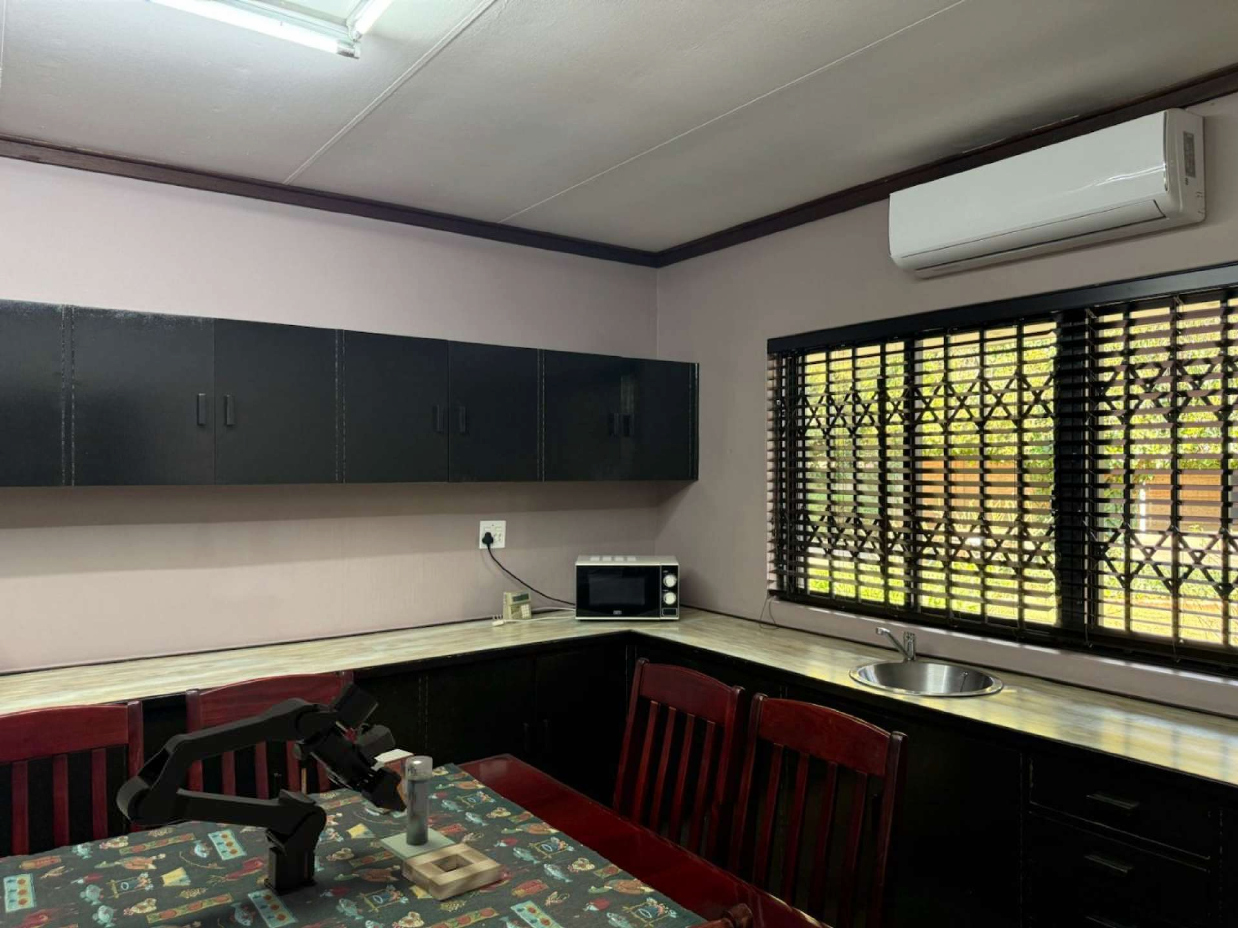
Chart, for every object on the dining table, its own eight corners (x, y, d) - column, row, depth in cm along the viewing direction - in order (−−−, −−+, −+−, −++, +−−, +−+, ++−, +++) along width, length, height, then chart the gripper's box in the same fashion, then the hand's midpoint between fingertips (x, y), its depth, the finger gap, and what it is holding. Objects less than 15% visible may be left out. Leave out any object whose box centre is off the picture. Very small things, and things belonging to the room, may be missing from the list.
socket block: (439, 900, 145) (439, 884, 145) (402, 875, 154) (403, 860, 154) (500, 879, 153) (500, 864, 153) (462, 856, 162) (462, 842, 162)
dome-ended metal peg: (423, 847, 163) (425, 764, 164) (399, 844, 164) (401, 762, 165) (434, 837, 168) (436, 757, 168) (411, 834, 169) (413, 754, 169)
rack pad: (406, 862, 159) (406, 857, 159) (379, 844, 166) (380, 839, 166) (455, 848, 166) (455, 842, 166) (427, 831, 173) (427, 826, 173)
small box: (382, 814, 182) (383, 762, 182) (365, 807, 185) (366, 756, 185) (413, 803, 188) (414, 753, 188) (396, 797, 191) (397, 747, 192)
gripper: (393, 725, 153) (447, 777, 160) (344, 703, 166) (395, 752, 173) (348, 781, 147) (406, 832, 154) (301, 753, 161) (356, 802, 168)
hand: (391, 802), depth 163 cm, fingers open, 9 cm apart
